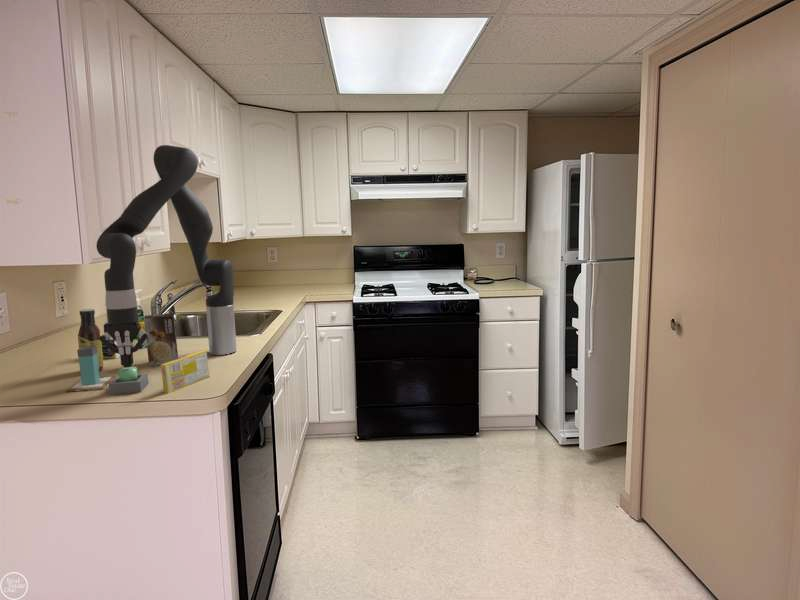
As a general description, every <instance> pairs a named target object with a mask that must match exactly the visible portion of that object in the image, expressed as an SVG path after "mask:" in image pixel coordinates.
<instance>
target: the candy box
mask: <svg viewBox="0 0 800 600" xmlns="http://www.w3.org/2000/svg"><path fill="white" fill-rule="evenodd" d="M207 352H208V351H207V350H199V351H197V352H194V353H191V354H188V355H185V356H182V357H178V359H176V360H173V361H170V362H167V363H164V364H161V365H160V370H161V379H162V388H163V393H164V394H170V393H172V392H175V391H177V390H179V389H180V390H181V389H183V388H185V387H188V386H189V385H192V384H196V383H197V382H200V381H203V380H206V379H207V377H208V378H210V371H209V370H210V369H209V362H208V353H207Z"/></svg>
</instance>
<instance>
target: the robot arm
mask: <svg viewBox="0 0 800 600" xmlns="http://www.w3.org/2000/svg"><path fill="white" fill-rule="evenodd" d="M198 161H199V160H198V156H197V155H196V153H195V152H194V151H193V150H191V149H190V148H186V147H182V146H175V145H169V144H161V145H159V146H157V147H156V148H155V150H154V152H153V164H154V167H155V170H156V172H157V174H158V177H159V180H158V181H157V182H155V183H154V184H153V185H151V186H150V187H148V188H146V189H145V190H143V191H142V192H140V193H139V194H138V195H135V197H134V198H133V199H132V200H131V202H130V203H128V205H127V206H126V207H125V209H124V210H123V211H122V213H121V214H120V216H119V217H118V218H117V219H116V220H115V221H113V222H112V223H111V224H110V225H109V226H108V227H107V228H106V229H105V230H103V232H101V234H100V235H99V236H98V239H97V240H96V251H97V253H98V254H99V255H100V256H102V257H103V258H105V259H110V263H109V264H110V265H109V268H108V269H105V272H104V286H105V287H104V288H105V289H104V290H105V309H106V318H107V320H106V321H107V323H108V328H107V332H106V333H105V334H104V333H103V334H102V335H100V337H99V340H100V341H101V342H102V343H103V344H104V345H105V346H106V347H107V348H108V349H110V350H111V351H112V352H113V353H118V354H120V357H119V358H120V364H121V366H123V368H128V367H132V366H133V364H134V353H136V352H138V351H139V350H140V349H141V348H140V347H141V346H142V344H143V343H144V342H145V340H146V339H147V338H148V336H149V335H150V334H149V332H145V331H143V330H141V326H140V325H139V322H138V317H139V313H138V303H137V294H136V290H135V279H134V269H135V264H136V259H137V245H136V242H135V240H134V239H133V238H134V237H135V236H138V235H141V234H142V233H143V232H145V230H147V228H148V226H149V225H150V224H151V222H152V221H153V220H154V218H155V217H156V215H157V214H158V212H160V210H161V209H162V208H163V207H164V205H165V204H166V203H167V202H169V200H171V203H172V205H173V208H174V210H175V212H176V214H177V218H178V220H179V223H180V226H181V229H182V231H183V234H184V236H185V238H186V240H187V243H188V246H189V249H190V251H191V254H192V259H193V261H194V265H195V269H196V272H197V275H198V278H199V281H200V282H201V284H203V285H204V286H206V287H219V291H218V292H217V293H215V294H212V295H210V296H208V297H206V298H205V308H206V321H207V322H206V323H207V334H208V335H207V336H208V350H209V354H210V355H212V356H223V355H224V356H225V354H227V355H231V354H230V353H232V354H234V353H236V352H237V351H236V350H237V336H236V323H235V322H236V321H235V307H234V306H235V305H234V298H235V297H234V296H235V295H234V267H233V264H232V262H231V261H230V260H228V259H210V257H209V256H208V254H207V248H208V245H209V242H210V240H211V238H212V234H213V230H214V228H213V227H214V226H213V222H212V221H211V217H210V214H209V212H208V210H207V207H206V206H205V204H204V203H203V202H202V201H201V199H199V197H197V195H196V194H195V193H194V192H193V191H192V190H191V188H190V187H189V185H188V184H187V183H188V182H189V181H190V179H191V178H193V177H194V175H195V174H196V172H197V170H198V166H199V162H198ZM138 333H139V338H140V340H139V341H138V340H137V342H136V344H135V345H134V341H135V339H136V338H137V335H138ZM110 336H111V337H112V338H113V339H114V340H115V341H116V342H117V345H116V344H115V343H113V342H112V341H111V340H110V339H111V337H110ZM235 351H236V352H235ZM233 352H234V353H233Z"/></svg>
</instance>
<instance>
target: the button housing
mask: <svg viewBox="0 0 800 600" xmlns="http://www.w3.org/2000/svg"><path fill="white" fill-rule="evenodd" d="M137 374H138V380H137V381H127V382H120V380H119V375H117V376H116V378H115V379H114V380H112V381H111V382H110V383H109V385H108V392H109V395H110V394H111V395H121V394H120V393H124V394H136V393H135V392H137V393H142V392H143V391H144V390H145V388H146V387H147V386H148V385H149V384H150V383H149V374H148V373H137ZM142 390H143V391H142Z"/></svg>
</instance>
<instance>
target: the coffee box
mask: <svg viewBox="0 0 800 600" xmlns="http://www.w3.org/2000/svg"><path fill="white" fill-rule="evenodd" d="M144 316H145V317H144V318H143V320H144V323H145V332H149V334H150V335H149V336H148V338H147V339H146V342H147V348H146V350H147V359H148V366H149V367H153V366H155V367H156V366H161V364H164V363H167V362H170V361H173V360H176V359H179V354H178V353H179V350H178V342H177V333H176V323H175V314H174V313H163V314H161V313H160V314H149V315H144Z"/></svg>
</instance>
